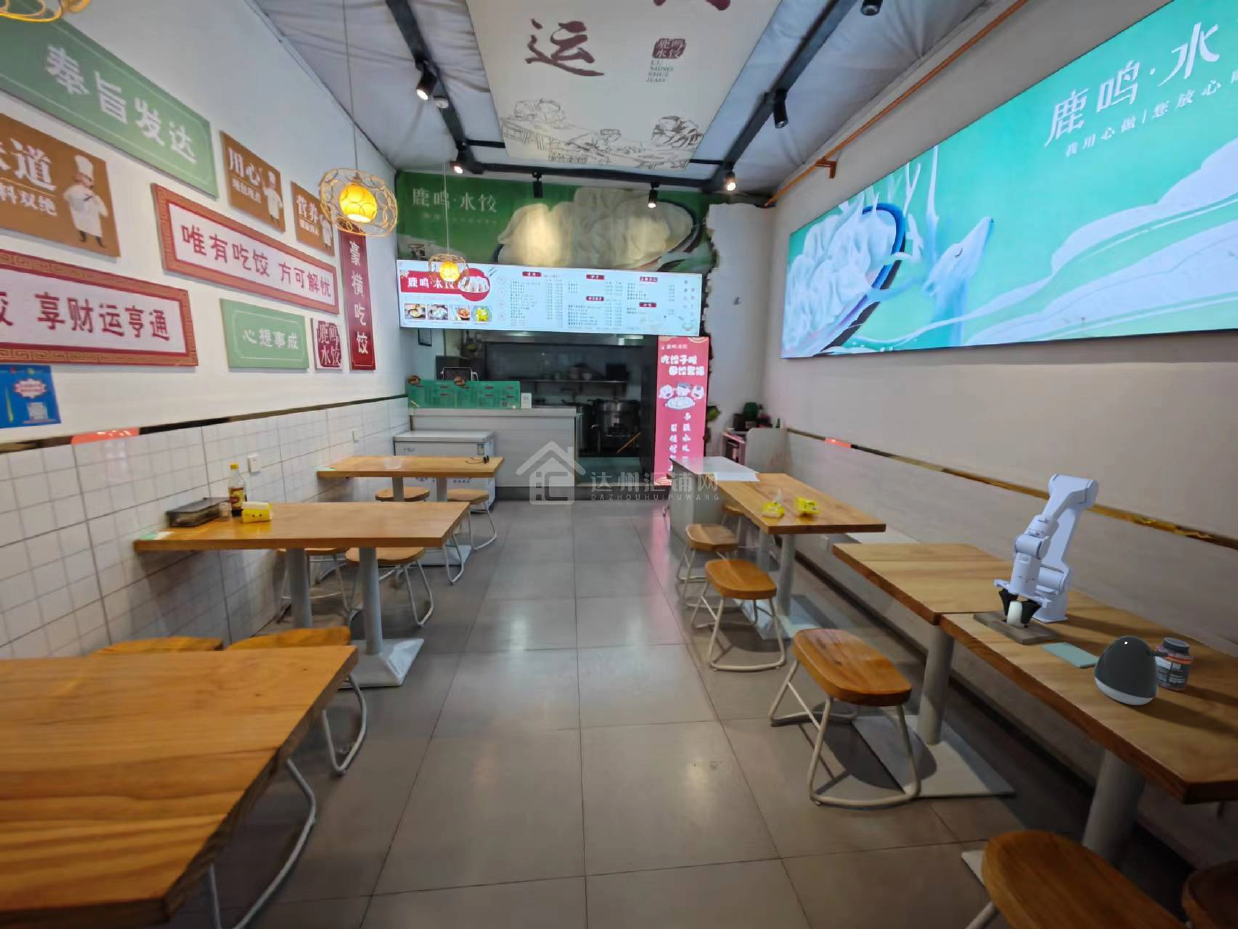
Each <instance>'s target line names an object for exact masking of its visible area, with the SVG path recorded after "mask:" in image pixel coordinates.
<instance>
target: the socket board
mask: <svg viewBox="0 0 1238 929" xmlns="http://www.w3.org/2000/svg"><path fill="white" fill-rule="evenodd" d="M1007 617H1008V616H1006V615H1005V613H1004V609H1002V610H996V611H994V610H993V611H988V612H981V613H980V612H979V613H973V617H972V619H973V620H974V621H977V622H979V623H980V624H983V626H986V627H988V628H989V629H992V630H993V631H996V632H997V633H999V634H1001V635H1003V636H1005V637H1006V638H1008V639H1011V640H1013V641H1014V642H1017V643H1018V644H1020V645H1026V644H1031V643H1038V642H1044V641H1045V642H1046V641H1049V640H1056V639H1057V640H1058V639H1059V638H1060V637H1061V636H1060V635H1061V632H1060V633H1059V632H1057V631H1056V630H1053V629H1052V628H1049V627H1047V626H1045V625H1043V624H1041V623H1039V622H1036V621H1035V620H1032V619H1030V621H1029V623H1028V624H1025V625H1024V628H1021V629H1017V628H1015V627H1013V626H1011V625H1009V624H1007V623H1006V622H1007Z"/></svg>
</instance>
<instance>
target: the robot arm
mask: <svg viewBox="0 0 1238 929" xmlns="http://www.w3.org/2000/svg"><path fill="white" fill-rule="evenodd" d="M1047 486H1048V487H1047V489H1048V494H1049V495H1048V496H1050V497H1049V499H1048V500H1047V503H1046V505H1045V507H1044V510H1043V511H1042V513H1041V514H1038V515H1037V514H1036V515H1035V516H1034V517H1033V518H1032V520H1031V522H1030V523H1029V525H1028V527H1027V528H1026V530H1025V531H1024V533H1022V534H1018V535H1017V536H1016V537H1015V540H1014V541H1013V545H1012V548H1013V555H1012V556H1013V559H1014V561H1013V562H1014V563H1013V568H1012V573H1011V576H1010V582H1009V581H1006V580H1003V579H1000V578H997V579H994V580H993V581H994V582H993V587H997V588H1001V590H999V591H998V595H999V597H1000V599H1001V602H1002V606H1003V610H1004V613H1005V615H1006V616H1008V612H1009V607H1010V602H1011V600H1018V598H1019V597H1021V598H1023V599H1025V600H1020V601H1021V604H1022V616H1021V623H1022V624H1028V623H1029V621H1030V620H1032V618H1034V619H1036V620H1038V621H1040V622H1042V623H1045V624H1047V623H1053V622H1060V621H1066V620H1068V619H1069V618H1068V617H1066V612H1067V608H1068V602H1069V596H1068V594H1067V593H1068V592H1070V590H1071V588H1072V587H1073V582H1074V575H1075V571H1074V569H1073V568H1072V567H1071V565H1070V564H1069V563H1068V562H1067V561H1066V560H1067V556H1068V553H1069V550H1070V548H1071V545H1072V542H1073V540H1074V536H1075V533H1076V531H1077V528H1078V524H1079V523H1080V519H1081V517H1082V515H1083V512H1084V511H1085V510H1088V509H1092V508H1093V506H1094V504H1095V503H1096V499H1097V497H1098V494H1099V492H1100V491H1099V490H1100V485H1099V482H1098V481H1097V480H1096V479H1088V478H1084V477H1083V478H1082V477H1076V476H1070V475H1069V476H1068V475H1063V474H1059V473H1055V474H1054V475H1052V476H1051V477H1050V479H1049V481H1048V485H1047ZM1053 568H1054V569H1053ZM1060 570H1061V571H1060Z"/></svg>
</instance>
